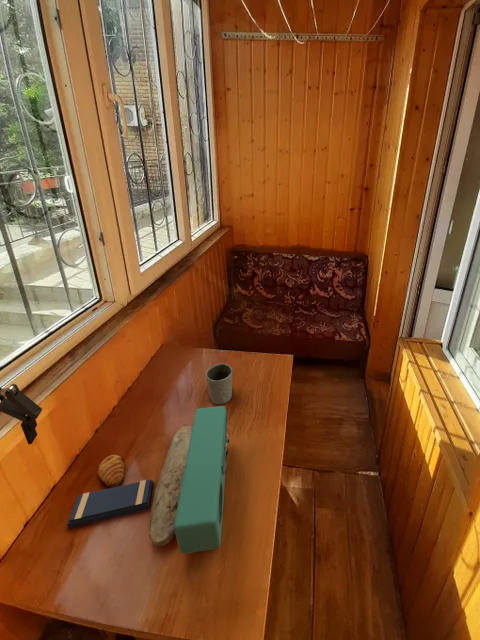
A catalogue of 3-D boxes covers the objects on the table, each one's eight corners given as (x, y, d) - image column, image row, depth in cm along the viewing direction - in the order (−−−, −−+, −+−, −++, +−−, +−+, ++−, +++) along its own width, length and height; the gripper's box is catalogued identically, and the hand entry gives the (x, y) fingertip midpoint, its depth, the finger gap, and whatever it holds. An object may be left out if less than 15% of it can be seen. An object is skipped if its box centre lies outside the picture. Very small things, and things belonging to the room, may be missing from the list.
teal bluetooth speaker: (224, 561, 76) (219, 521, 71) (180, 568, 74) (172, 528, 69) (230, 437, 107) (228, 404, 102) (200, 441, 106) (195, 407, 101)
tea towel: (68, 528, 82) (66, 522, 81) (79, 500, 89) (76, 494, 88) (149, 509, 87) (147, 503, 86) (153, 484, 93) (152, 477, 92)
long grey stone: (202, 431, 111) (173, 435, 110) (200, 419, 110) (171, 423, 109) (183, 545, 78) (142, 552, 77) (179, 530, 77) (137, 538, 76)
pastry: (130, 478, 94) (127, 470, 93) (105, 495, 90) (102, 486, 89) (120, 457, 101) (118, 448, 99) (97, 471, 96) (94, 463, 95)
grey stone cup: (207, 406, 120) (204, 382, 116) (209, 387, 129) (207, 364, 125) (233, 404, 121) (231, 379, 117) (234, 385, 131) (232, 362, 127)
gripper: (43, 356, 75) (65, 422, 82) (-85, 372, 69) (-49, 442, 76) (26, 377, 68) (51, 448, 75) (-117, 398, 62) (-75, 471, 70)
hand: (1, 445), depth 76 cm, fingers open, 13 cm apart
